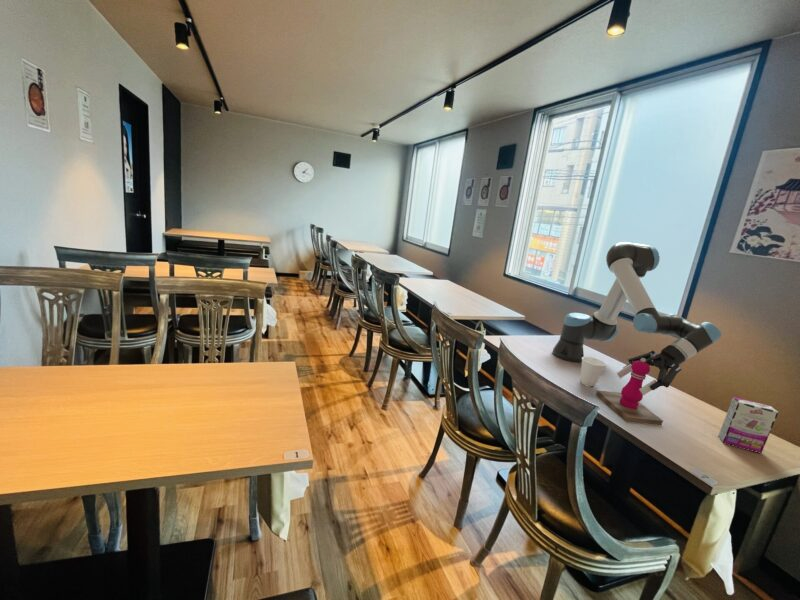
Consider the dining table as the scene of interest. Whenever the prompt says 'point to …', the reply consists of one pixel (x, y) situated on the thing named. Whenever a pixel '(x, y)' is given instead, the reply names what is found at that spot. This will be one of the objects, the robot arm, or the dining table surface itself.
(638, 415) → the serving board
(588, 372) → the cup
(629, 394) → the pepper mill
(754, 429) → the candy bar box
